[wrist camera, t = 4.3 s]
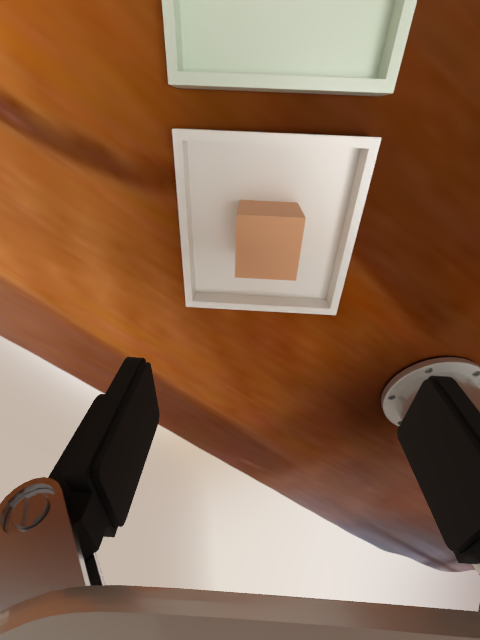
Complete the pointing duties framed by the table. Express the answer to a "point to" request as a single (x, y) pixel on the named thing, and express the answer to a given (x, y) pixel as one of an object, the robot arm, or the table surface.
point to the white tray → (269, 185)
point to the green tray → (287, 45)
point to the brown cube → (268, 239)
